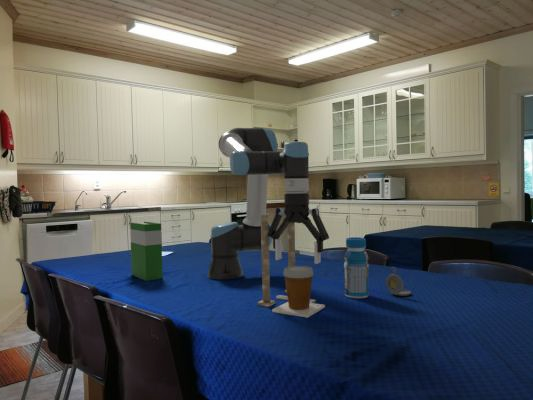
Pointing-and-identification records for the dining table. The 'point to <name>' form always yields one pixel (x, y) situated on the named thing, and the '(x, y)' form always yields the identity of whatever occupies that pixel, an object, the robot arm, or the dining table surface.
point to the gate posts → (265, 258)
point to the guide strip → (287, 298)
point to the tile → (303, 313)
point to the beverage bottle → (356, 268)
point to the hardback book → (146, 250)
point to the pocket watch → (396, 284)
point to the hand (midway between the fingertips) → (297, 261)
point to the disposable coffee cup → (298, 286)
